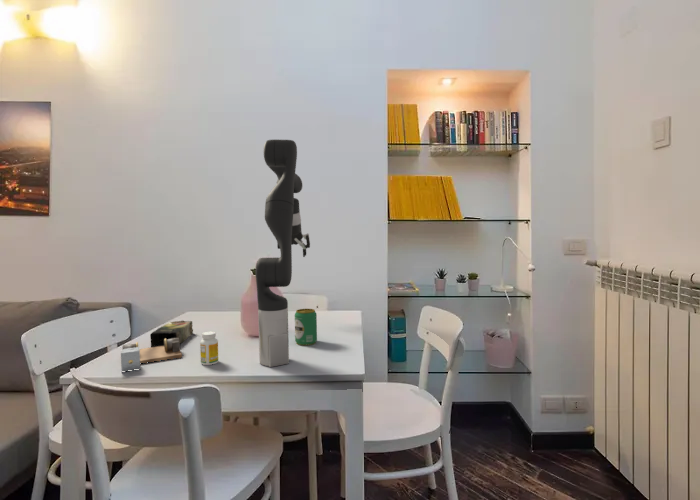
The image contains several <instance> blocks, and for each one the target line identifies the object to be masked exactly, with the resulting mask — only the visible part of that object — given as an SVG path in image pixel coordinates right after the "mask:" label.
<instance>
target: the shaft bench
mask: <svg viewBox="0 0 700 500" xmlns="http://www.w3.org/2000/svg"><path fill="white" fill-rule="evenodd" d="M180 346H181V345H180V342H179V338H174V337H171V338H168V339H167V338H166V337H165V338H164V339H163V345H158V346H153V347H151V346H150V347H144V348H139V350H140V363H146V364H148V363H147V362H153V363H155V362H154V361H159V362H161V361H160V360H165V361H168V360H167V359H171V360H174V359H173V358H177V359H182V358H183V353H182V351H181V350H180ZM134 347H139V341H136V342H135V343H133V344H131V343H130V344H129V343H128V344H123V345H122V349H127V348H134ZM181 357H182V358H181Z"/></svg>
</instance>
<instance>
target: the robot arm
mask: <svg viewBox="0 0 700 500" xmlns="http://www.w3.org/2000/svg"><path fill="white" fill-rule="evenodd" d="M263 160H264V162H265V164H266V166H267V167H268V168H269V169H270V170H271V171H272V172H273V173H274V174H275V175H276V177H277V181H276V184H275V186H274V187H273V188H272V189H271V190H270V192H269V193H268V195H267V197H266V199H265V205H264V221H265V223H266V225H267V227H268V229H269V230H270V231H271V233H272V235H273V236H274V239H275V240H276V243H277V249H280V257H260V258H258V259H257V261H256V263H255V282H256V295H257V297H256V298H257V310H258V311H257V313H258V318H257V319H258V349H259V350H258V351H259V353H258V354H259V364H260V365H262V366H266V367H269V368H272V367H277V366H282V365H287V364H289V361H290V348H289V347H290V346H289V345H290V344H289V306H288V305H289V303H288V301H289V300H288V299H287V298H286V297H284V296H282V295H279V294H276V293H275V292H273V291H272V290H271V289H270V288H278V287H279V288H284V287H289V286H290V284H291V282H292V274H293V273H292V271H293V269H292V268H293V266H292V264H293V263H292V261H293V260H292V259H293V258H292V256H293V255H292V251H293V250H292V246H293V245H296V246H297V245H299V246H300V247H301V248H302V256H303V258H306V256H307V249H310V247H311V241H310V233H306V234H303V233H302V218H301V212H300V201H299V199H298V198H296V197H295V196H294V195H295V194H299V193H300V192H301V191H302V189H303V181H302V179H301V177H300V176H299V175H298V174H297V173H296V169H297V160H298V147H297V143H296V141H294V140H292V139H268V140H266V141H265V142H264V145H263ZM302 239H304V240H306V241H305V242H306V244H305V242H304V241H303V240H302Z"/></svg>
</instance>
